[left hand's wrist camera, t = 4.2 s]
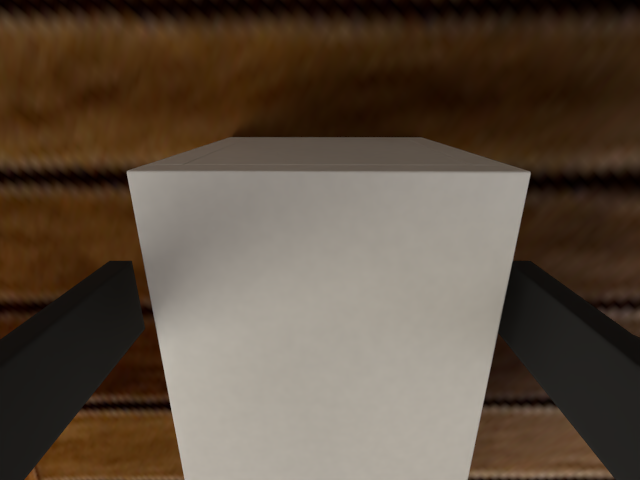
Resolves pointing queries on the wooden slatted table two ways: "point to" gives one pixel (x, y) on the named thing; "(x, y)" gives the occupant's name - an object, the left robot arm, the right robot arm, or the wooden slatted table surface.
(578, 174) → the wooden slatted table surface
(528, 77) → the wooden slatted table surface
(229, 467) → the cabinet
